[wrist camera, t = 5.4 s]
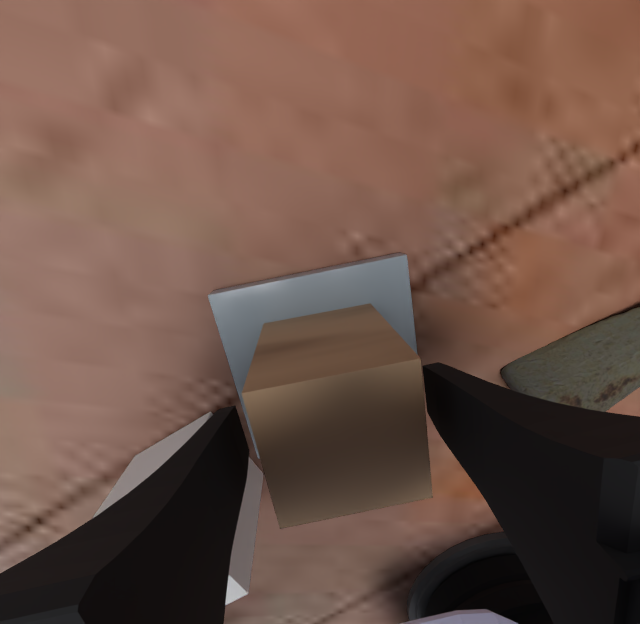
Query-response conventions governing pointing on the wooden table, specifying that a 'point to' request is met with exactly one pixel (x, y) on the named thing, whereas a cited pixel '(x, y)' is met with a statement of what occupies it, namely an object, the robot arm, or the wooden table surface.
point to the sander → (478, 583)
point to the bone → (583, 365)
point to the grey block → (248, 514)
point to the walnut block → (337, 415)
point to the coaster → (310, 305)
